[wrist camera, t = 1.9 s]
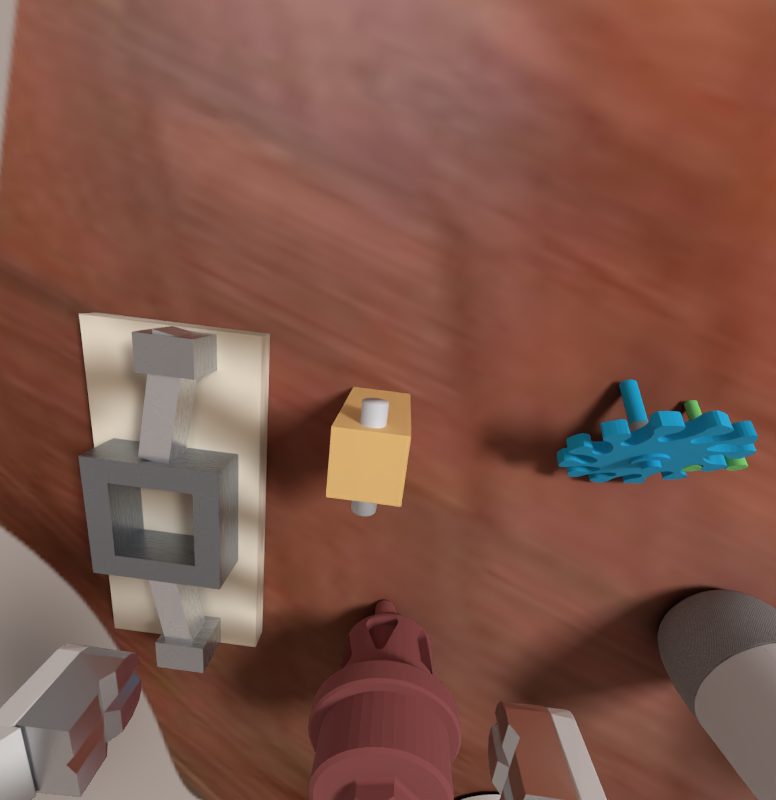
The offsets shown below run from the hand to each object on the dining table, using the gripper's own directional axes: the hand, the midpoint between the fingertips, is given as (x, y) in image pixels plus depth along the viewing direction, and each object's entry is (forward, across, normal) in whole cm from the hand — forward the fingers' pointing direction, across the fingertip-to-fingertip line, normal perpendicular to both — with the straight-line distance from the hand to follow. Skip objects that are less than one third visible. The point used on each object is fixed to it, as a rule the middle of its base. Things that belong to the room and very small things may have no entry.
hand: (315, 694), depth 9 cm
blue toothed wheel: (+20, -17, -1) cm, 26 cm away
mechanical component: (+20, -3, +19) cm, 27 cm away
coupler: (+19, 0, 0) cm, 19 cm away
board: (+19, +14, +8) cm, 25 cm away
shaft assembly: (+18, +14, +8) cm, 24 cm away
